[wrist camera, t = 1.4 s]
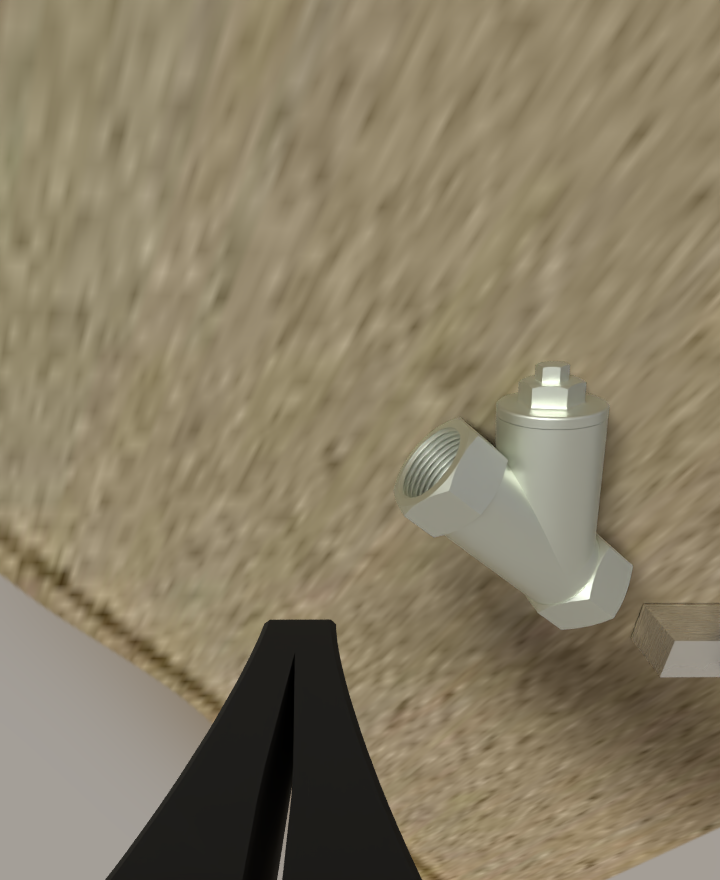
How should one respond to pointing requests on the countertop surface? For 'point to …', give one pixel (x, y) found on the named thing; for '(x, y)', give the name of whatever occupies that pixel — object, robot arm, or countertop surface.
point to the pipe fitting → (526, 496)
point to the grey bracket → (680, 639)
